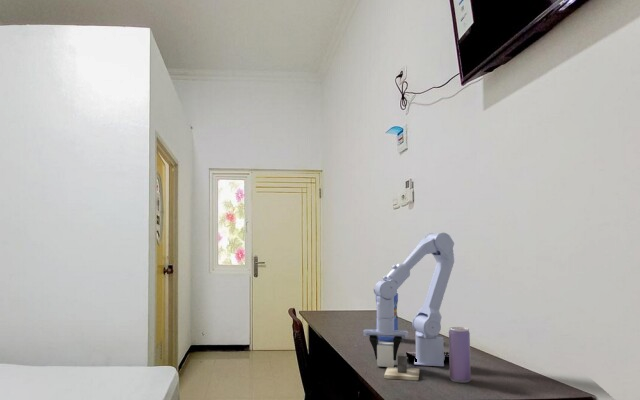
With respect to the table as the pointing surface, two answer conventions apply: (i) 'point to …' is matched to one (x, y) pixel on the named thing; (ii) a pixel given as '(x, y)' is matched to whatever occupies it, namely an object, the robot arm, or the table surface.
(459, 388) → the table surface
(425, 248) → the robot arm
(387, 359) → the white rectangular block
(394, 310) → the water bottle
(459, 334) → the beverage can
